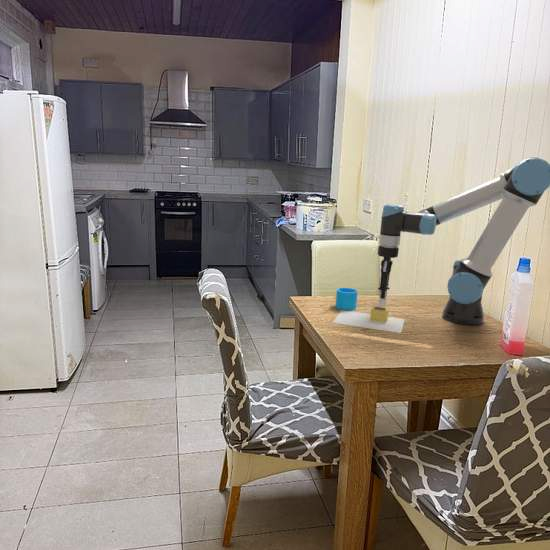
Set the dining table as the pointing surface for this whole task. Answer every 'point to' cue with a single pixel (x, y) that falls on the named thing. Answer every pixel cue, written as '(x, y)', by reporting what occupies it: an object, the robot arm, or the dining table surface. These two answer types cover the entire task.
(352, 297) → the mug
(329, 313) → the dining table surface
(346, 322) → the drywall panel
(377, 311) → the block
